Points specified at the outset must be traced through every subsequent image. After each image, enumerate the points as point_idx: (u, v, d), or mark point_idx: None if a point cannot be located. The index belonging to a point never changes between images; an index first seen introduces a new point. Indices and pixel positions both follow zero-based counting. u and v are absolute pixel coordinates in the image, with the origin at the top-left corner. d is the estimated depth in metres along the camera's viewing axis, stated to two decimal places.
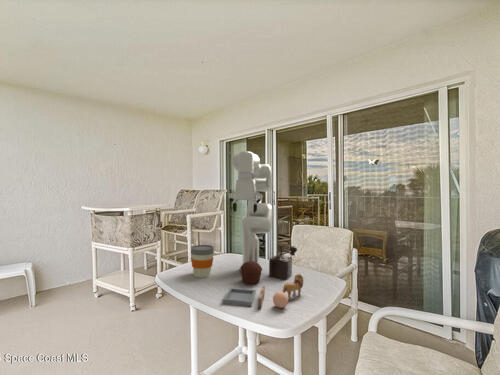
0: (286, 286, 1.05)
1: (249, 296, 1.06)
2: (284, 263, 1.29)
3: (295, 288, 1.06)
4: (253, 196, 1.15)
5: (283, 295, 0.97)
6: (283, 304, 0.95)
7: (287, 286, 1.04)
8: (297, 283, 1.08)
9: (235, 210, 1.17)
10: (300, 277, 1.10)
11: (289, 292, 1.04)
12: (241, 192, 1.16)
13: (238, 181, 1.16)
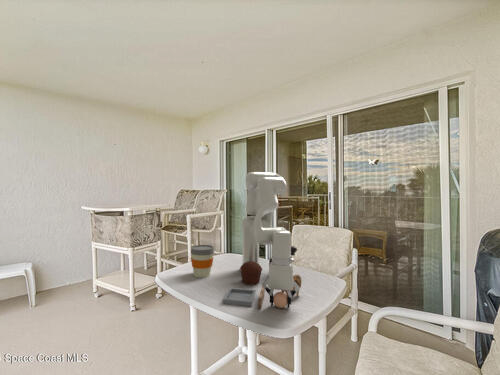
0: None
1: (249, 296, 1.06)
2: None
3: None
4: (291, 286, 0.95)
5: (283, 295, 0.97)
6: (283, 304, 0.95)
7: None
8: None
9: (272, 304, 0.97)
10: (298, 277, 1.09)
11: (287, 293, 1.03)
12: (276, 281, 0.96)
13: (273, 267, 0.97)
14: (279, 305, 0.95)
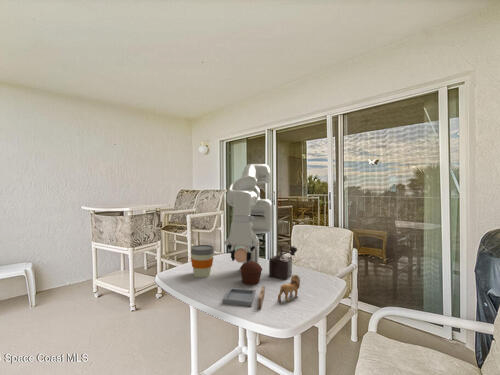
0: (283, 287, 1.03)
1: (249, 296, 1.06)
2: (284, 263, 1.29)
3: (292, 289, 1.05)
4: (250, 242, 1.02)
5: (243, 250, 1.03)
6: (242, 258, 1.02)
7: (284, 287, 1.03)
8: (294, 283, 1.07)
9: (233, 259, 1.04)
10: (297, 278, 1.09)
11: (286, 293, 1.03)
12: (237, 237, 1.03)
13: (233, 224, 1.03)
14: (239, 259, 1.02)
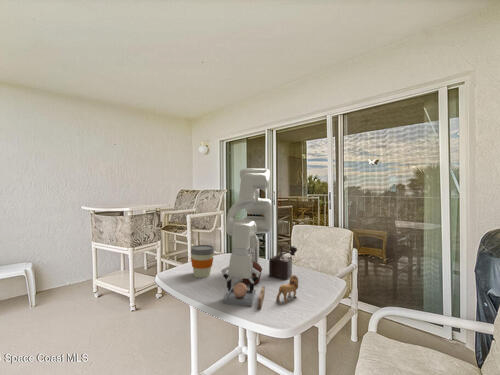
0: (282, 288, 1.02)
1: (249, 296, 1.06)
2: (284, 263, 1.29)
3: (291, 290, 1.05)
4: (249, 274, 1.02)
5: (242, 286, 1.03)
6: (242, 294, 1.02)
7: (283, 288, 1.02)
8: (293, 284, 1.06)
9: (229, 289, 1.04)
10: (295, 278, 1.08)
11: (285, 294, 1.02)
12: (236, 269, 1.03)
13: (232, 257, 1.03)
14: (238, 295, 1.02)
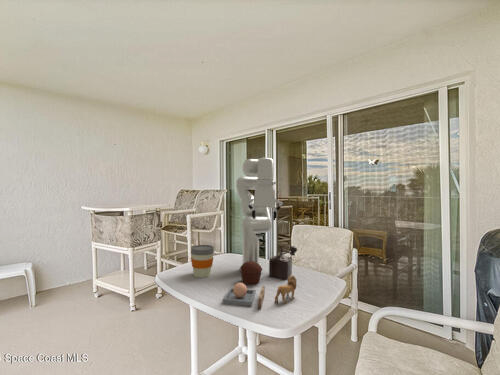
0: (280, 289, 1.02)
1: (249, 296, 1.06)
2: (284, 263, 1.29)
3: (289, 290, 1.04)
4: (273, 203, 1.13)
5: (242, 286, 1.03)
6: (241, 294, 1.02)
7: (281, 288, 1.02)
8: (291, 284, 1.06)
9: (254, 217, 1.15)
10: (293, 279, 1.08)
11: (283, 295, 1.02)
12: (261, 199, 1.14)
13: (257, 188, 1.14)
14: (238, 295, 1.02)
